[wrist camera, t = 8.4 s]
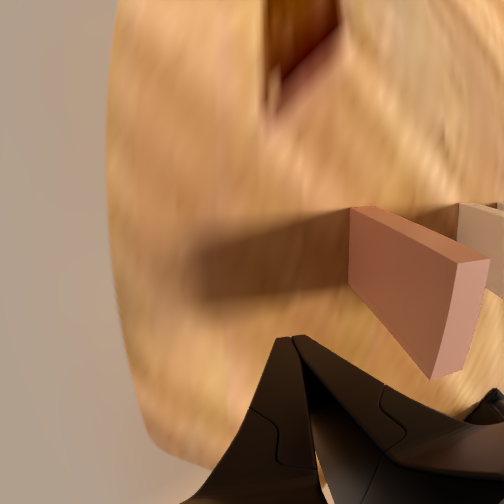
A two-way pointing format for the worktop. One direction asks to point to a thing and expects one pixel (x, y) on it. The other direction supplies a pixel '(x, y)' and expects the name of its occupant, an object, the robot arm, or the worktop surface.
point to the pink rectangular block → (417, 286)
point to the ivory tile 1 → (484, 239)
